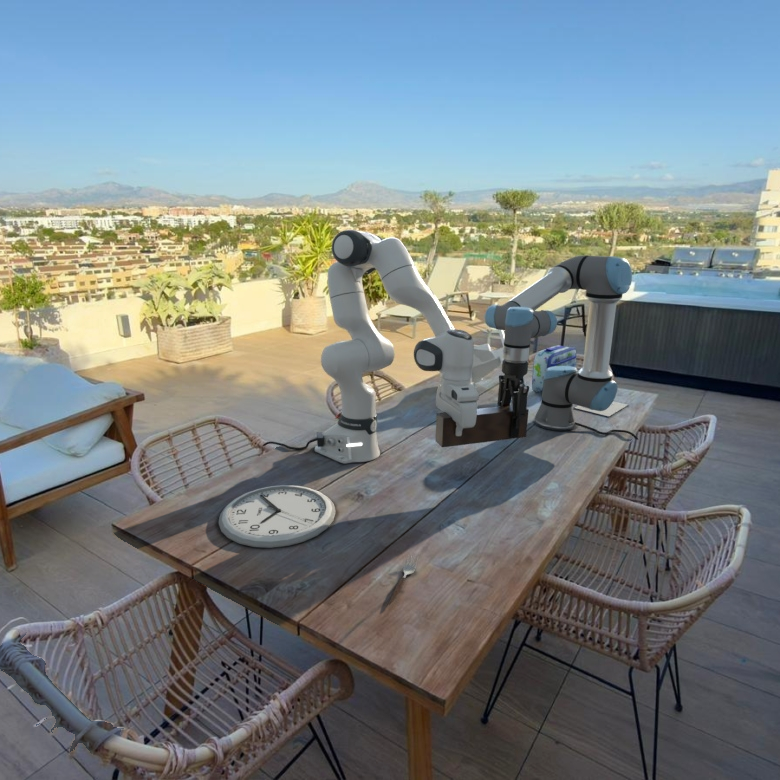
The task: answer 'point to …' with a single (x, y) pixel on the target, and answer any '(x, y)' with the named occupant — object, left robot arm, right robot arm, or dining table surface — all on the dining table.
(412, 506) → the dining table surface
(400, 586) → the fork
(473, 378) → the white plastic object
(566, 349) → the lunch box
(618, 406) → the invitation card
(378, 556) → the dining table surface
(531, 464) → the dining table surface
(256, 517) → the wall clock
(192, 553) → the dining table surface
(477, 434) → the walnut beam
